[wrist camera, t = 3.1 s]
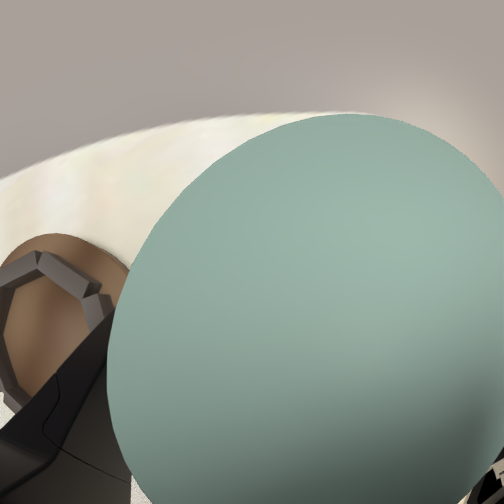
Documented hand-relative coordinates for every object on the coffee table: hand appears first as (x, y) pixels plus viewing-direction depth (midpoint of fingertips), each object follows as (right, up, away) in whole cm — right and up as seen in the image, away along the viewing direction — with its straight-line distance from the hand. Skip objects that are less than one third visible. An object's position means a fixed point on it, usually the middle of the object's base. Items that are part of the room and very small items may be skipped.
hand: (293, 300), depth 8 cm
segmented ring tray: (-12, -4, +5) cm, 14 cm away
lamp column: (-1, -2, +7) cm, 7 cm away
